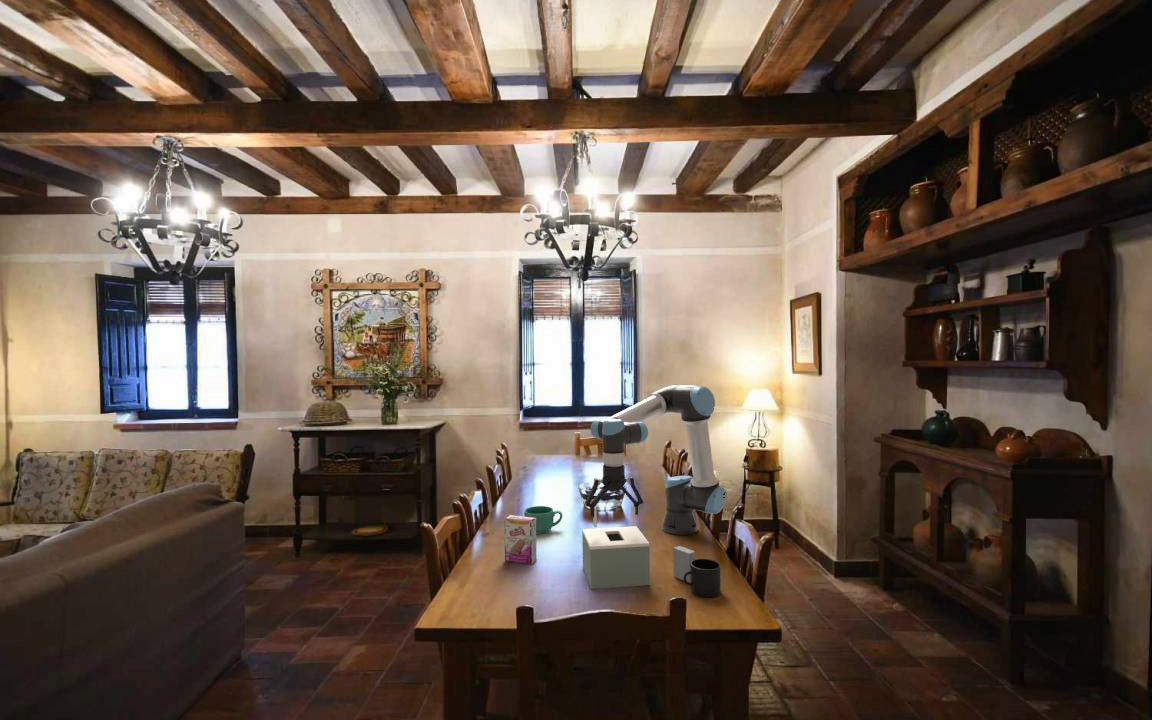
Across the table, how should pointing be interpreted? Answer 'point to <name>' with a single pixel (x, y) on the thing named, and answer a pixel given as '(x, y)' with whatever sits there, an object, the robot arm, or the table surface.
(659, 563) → the table surface
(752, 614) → the table surface
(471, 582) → the table surface
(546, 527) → the mug
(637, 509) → the robot arm
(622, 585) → the pale green white box
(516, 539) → the candy bar box
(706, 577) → the mug
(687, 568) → the grey rectangular block
